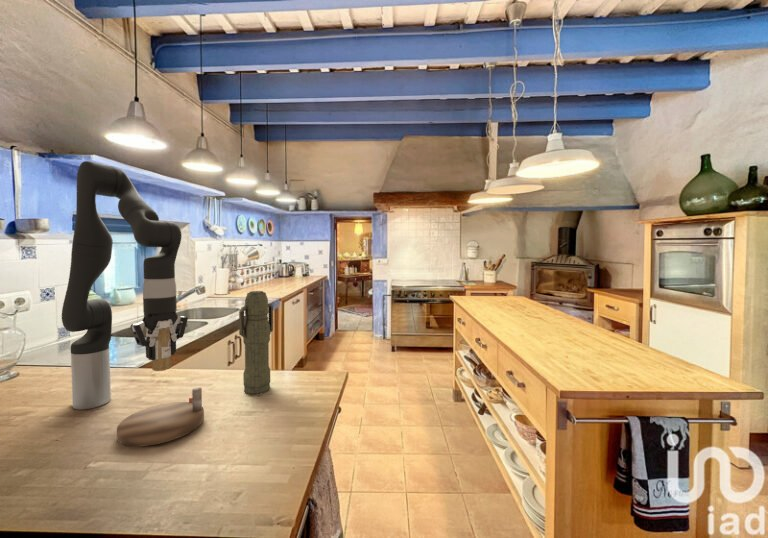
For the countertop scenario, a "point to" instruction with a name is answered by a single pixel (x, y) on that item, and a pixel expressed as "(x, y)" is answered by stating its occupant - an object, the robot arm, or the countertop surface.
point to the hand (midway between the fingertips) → (161, 356)
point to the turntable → (162, 422)
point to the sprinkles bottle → (162, 348)
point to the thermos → (256, 341)
